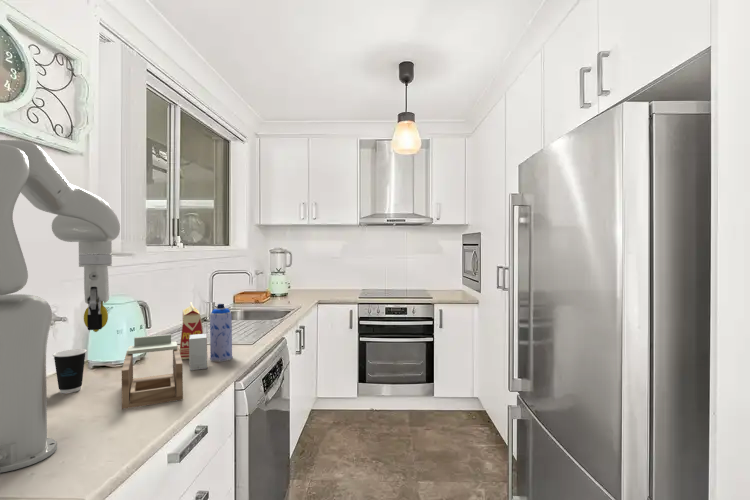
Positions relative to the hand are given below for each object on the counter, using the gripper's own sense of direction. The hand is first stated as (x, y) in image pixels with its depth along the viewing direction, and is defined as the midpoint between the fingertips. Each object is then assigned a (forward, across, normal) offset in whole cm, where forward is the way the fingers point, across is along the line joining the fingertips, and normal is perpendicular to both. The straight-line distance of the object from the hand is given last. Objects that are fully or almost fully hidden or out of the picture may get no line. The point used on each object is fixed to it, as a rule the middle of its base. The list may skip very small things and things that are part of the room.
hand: (96, 327), depth 116 cm
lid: (+9, +7, -14) cm, 18 cm away
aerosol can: (+19, +26, -36) cm, 49 cm away
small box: (+19, +19, -28) cm, 39 cm away
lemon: (+1, 0, 0) cm, 1 cm away
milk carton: (+19, +36, -27) cm, 49 cm away
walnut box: (+19, -1, -14) cm, 24 cm away
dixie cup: (+19, +11, +7) cm, 24 cm away
